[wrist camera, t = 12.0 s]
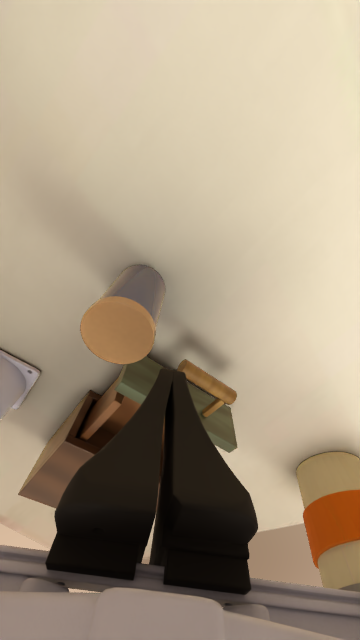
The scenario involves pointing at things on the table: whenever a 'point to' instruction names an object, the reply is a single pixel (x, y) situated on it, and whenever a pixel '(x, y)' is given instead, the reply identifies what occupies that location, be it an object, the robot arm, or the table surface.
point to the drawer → (131, 394)
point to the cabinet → (61, 458)
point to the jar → (125, 316)
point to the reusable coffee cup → (333, 516)
